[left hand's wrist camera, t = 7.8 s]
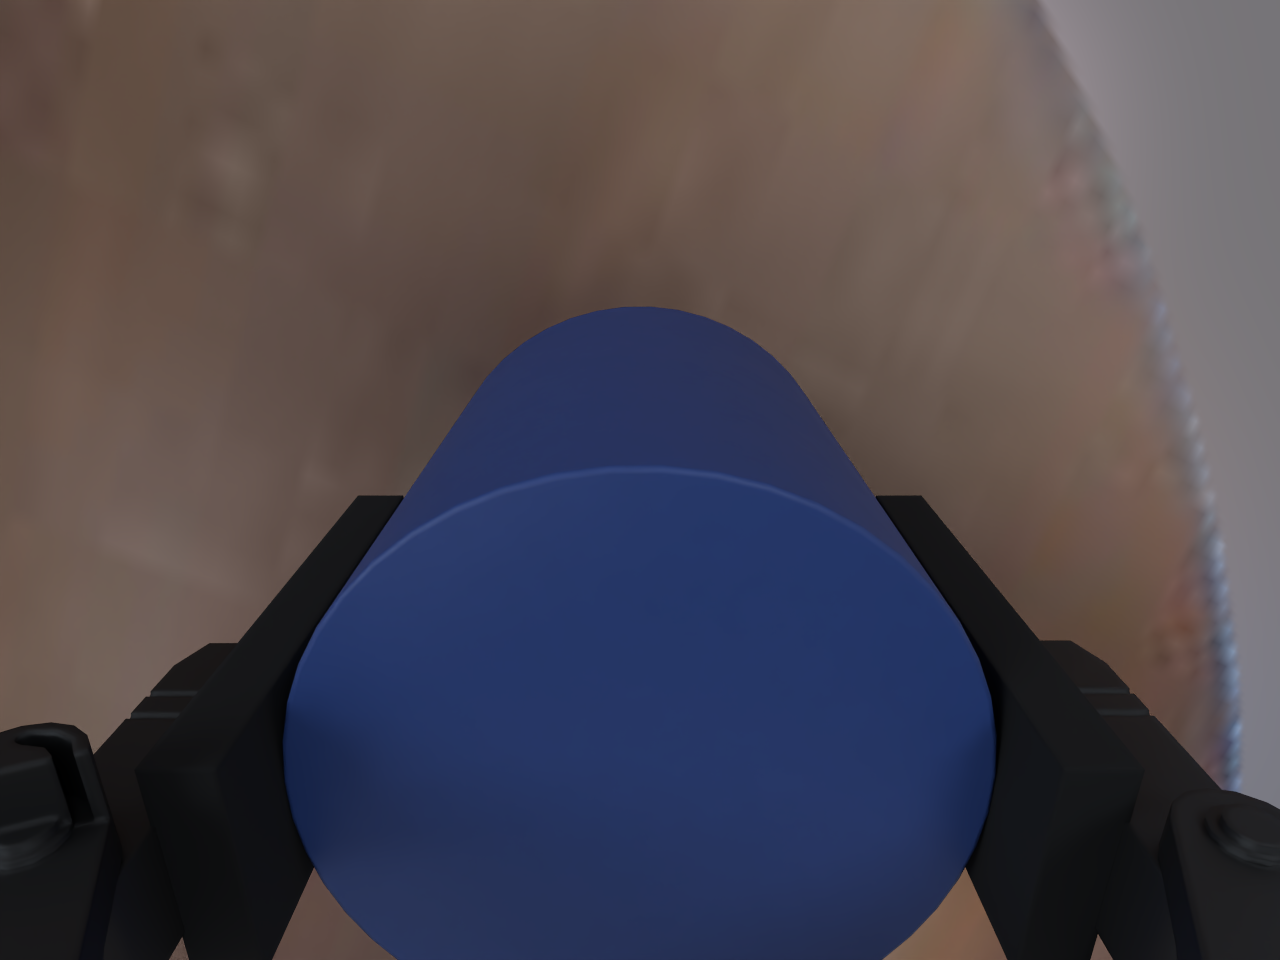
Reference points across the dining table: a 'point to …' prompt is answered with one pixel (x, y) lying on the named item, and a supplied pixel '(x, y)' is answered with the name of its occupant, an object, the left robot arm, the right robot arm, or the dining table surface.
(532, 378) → the can
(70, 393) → the dining table surface
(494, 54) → the dining table surface
